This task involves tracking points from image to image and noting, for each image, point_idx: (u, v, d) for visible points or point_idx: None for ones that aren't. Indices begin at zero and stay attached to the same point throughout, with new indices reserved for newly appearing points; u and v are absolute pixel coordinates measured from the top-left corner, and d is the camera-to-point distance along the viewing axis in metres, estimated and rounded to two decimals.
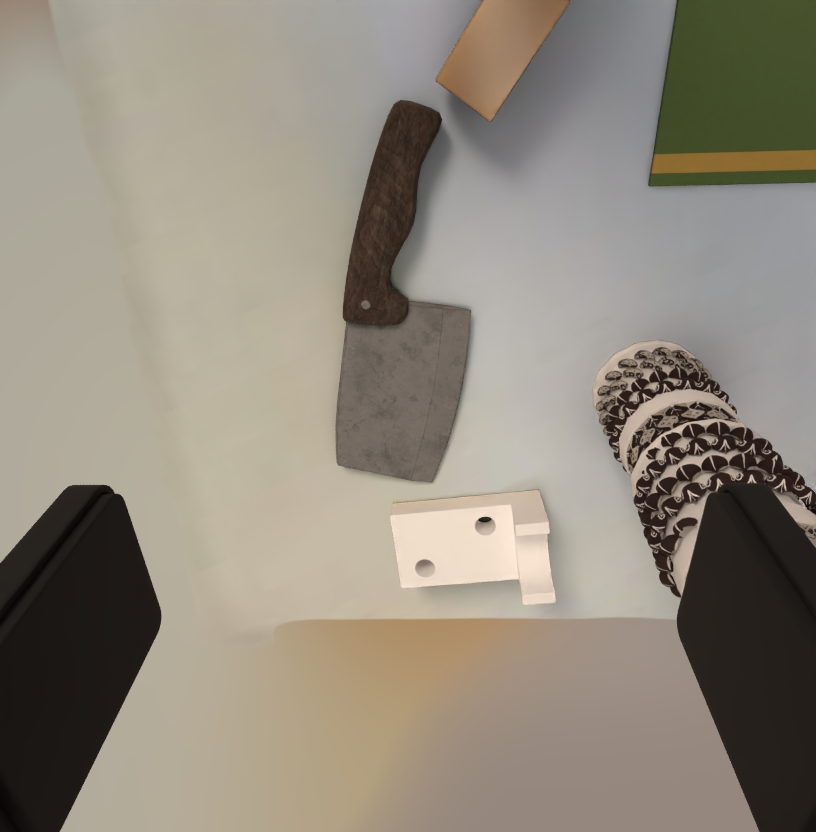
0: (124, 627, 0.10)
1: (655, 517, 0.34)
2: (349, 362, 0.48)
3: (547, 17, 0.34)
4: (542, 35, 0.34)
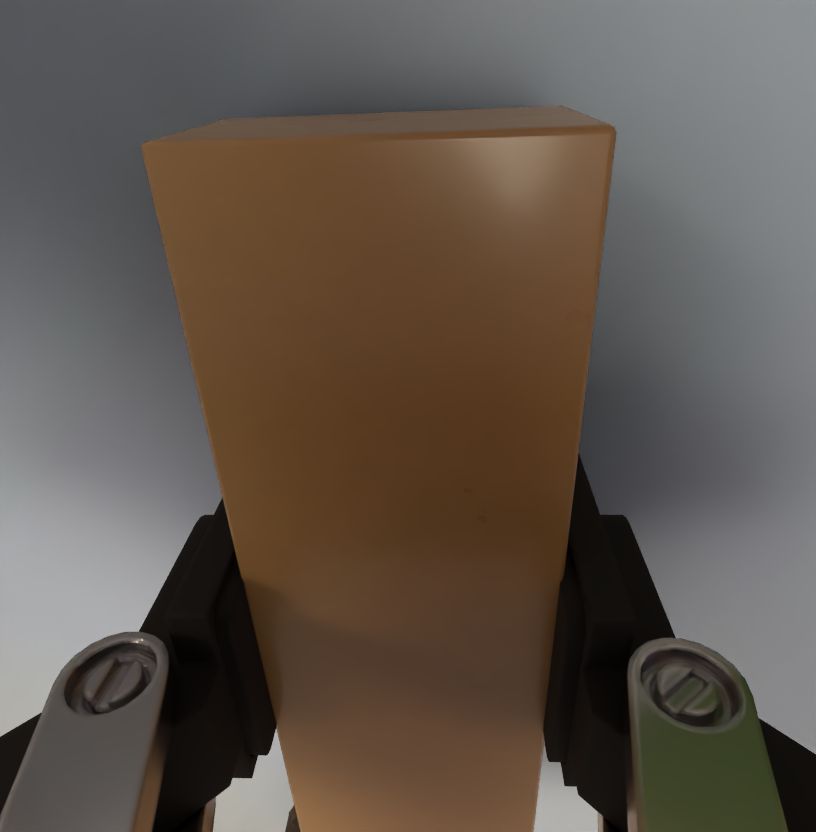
0: None
1: None
2: None
3: (510, 691, 0.09)
4: (529, 728, 0.09)
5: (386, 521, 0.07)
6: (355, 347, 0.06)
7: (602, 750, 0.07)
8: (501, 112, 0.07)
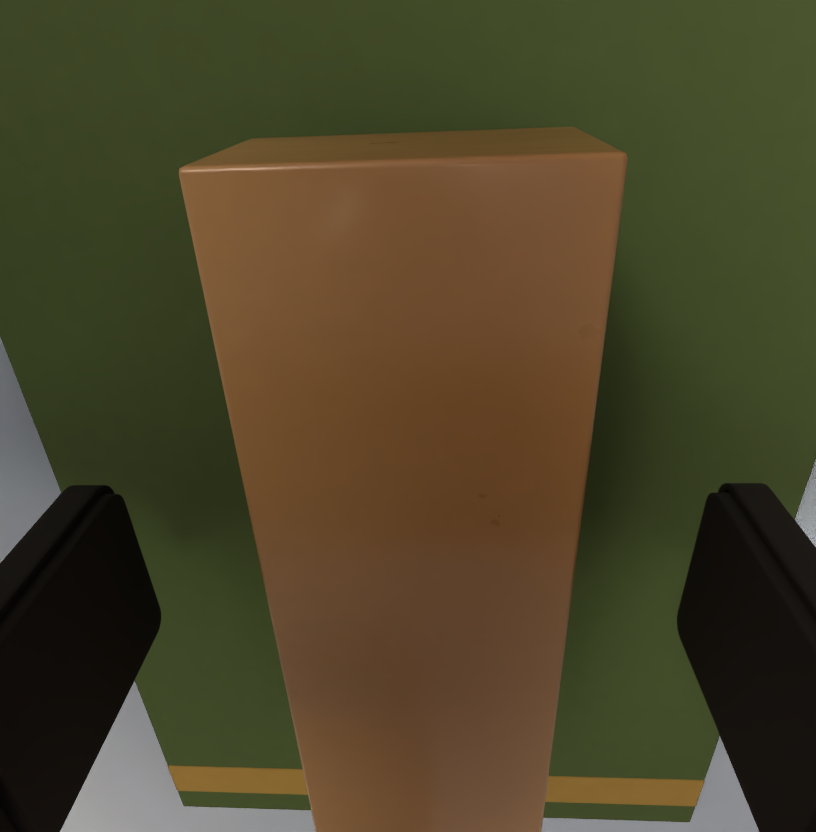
0: (124, 627, 0.10)
1: None
2: None
3: (520, 690, 0.09)
4: (539, 725, 0.09)
5: (404, 524, 0.07)
6: (377, 359, 0.06)
7: None
8: (516, 134, 0.07)
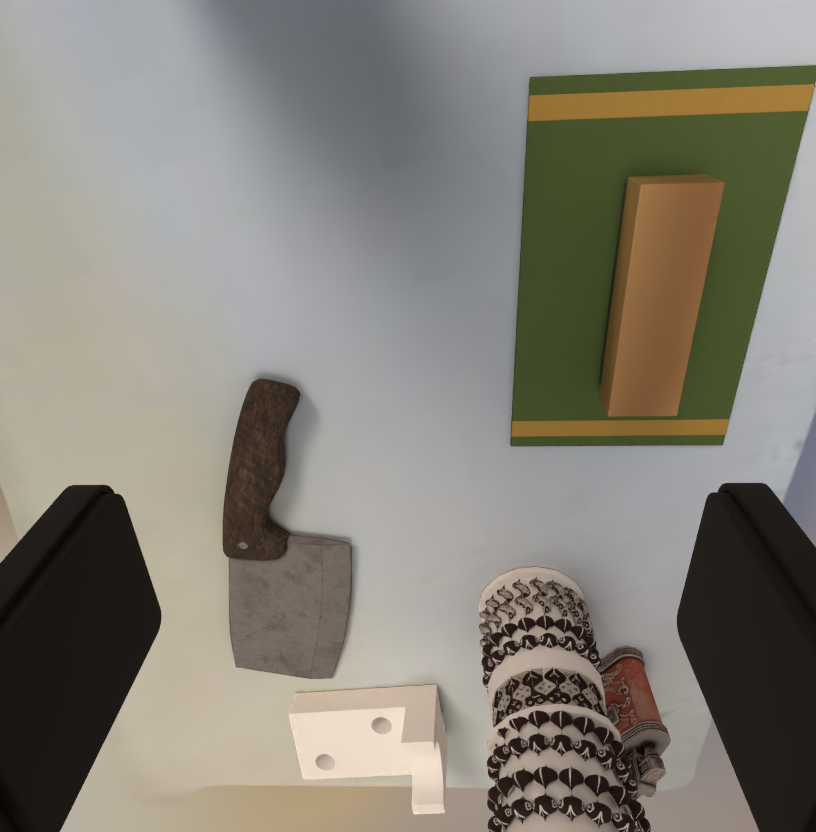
0: (124, 627, 0.10)
1: (491, 820, 0.35)
2: (235, 587, 0.48)
3: (686, 321, 0.33)
4: (689, 335, 0.34)
5: (666, 266, 0.32)
6: (670, 223, 0.31)
7: None
8: (696, 176, 0.31)
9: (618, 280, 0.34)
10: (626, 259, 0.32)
